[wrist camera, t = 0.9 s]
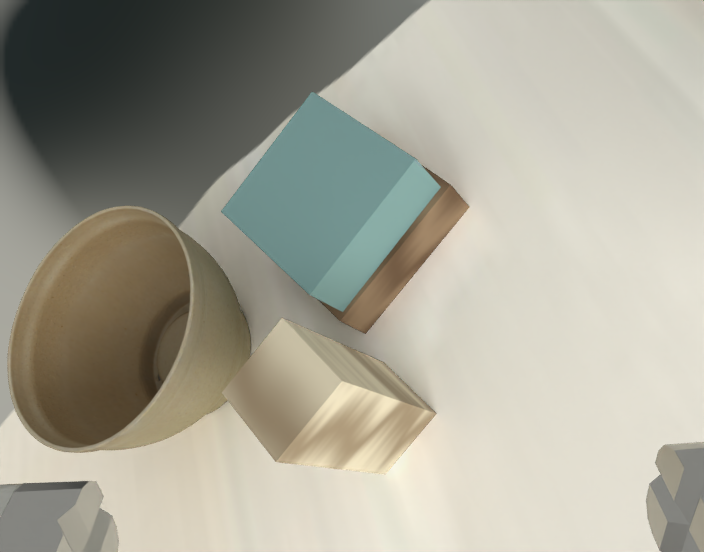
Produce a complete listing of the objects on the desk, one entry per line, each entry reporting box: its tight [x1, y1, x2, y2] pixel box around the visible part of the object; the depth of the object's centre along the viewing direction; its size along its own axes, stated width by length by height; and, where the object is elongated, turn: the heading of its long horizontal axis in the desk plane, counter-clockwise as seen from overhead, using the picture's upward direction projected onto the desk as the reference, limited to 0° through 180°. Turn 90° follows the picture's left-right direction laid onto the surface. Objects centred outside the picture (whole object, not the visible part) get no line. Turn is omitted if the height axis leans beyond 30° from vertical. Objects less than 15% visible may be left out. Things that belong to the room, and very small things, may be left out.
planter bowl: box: [8, 206, 251, 453], centre depth 46 cm, size 16×16×11 cm
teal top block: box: [221, 92, 441, 312], centre depth 42 cm, size 10×10×4 cm
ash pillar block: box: [222, 318, 436, 474], centre depth 37 cm, size 5×5×12 cm
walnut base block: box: [319, 166, 469, 334], centre depth 46 cm, size 11×11×4 cm
